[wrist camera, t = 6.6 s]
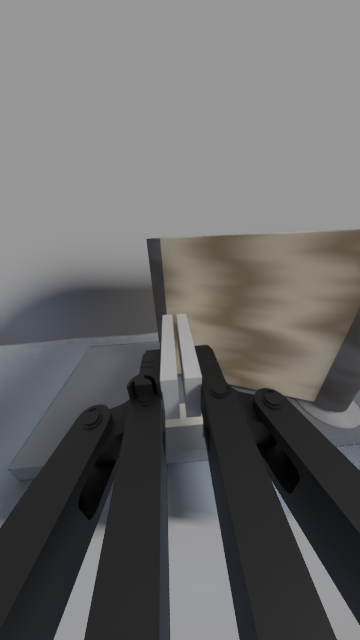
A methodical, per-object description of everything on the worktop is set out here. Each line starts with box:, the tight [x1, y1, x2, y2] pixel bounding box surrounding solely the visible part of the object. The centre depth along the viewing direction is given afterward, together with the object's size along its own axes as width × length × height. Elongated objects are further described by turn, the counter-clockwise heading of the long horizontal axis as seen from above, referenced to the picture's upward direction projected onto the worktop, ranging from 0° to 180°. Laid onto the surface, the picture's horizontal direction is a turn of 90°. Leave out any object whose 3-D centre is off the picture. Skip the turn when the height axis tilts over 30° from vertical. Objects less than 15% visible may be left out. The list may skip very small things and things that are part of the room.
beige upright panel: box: [147, 229, 360, 412], centre depth 13 cm, size 15×3×12 cm, turn 72°
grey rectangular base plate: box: [7, 341, 360, 480], centre depth 17 cm, size 28×13×2 cm, turn 94°
